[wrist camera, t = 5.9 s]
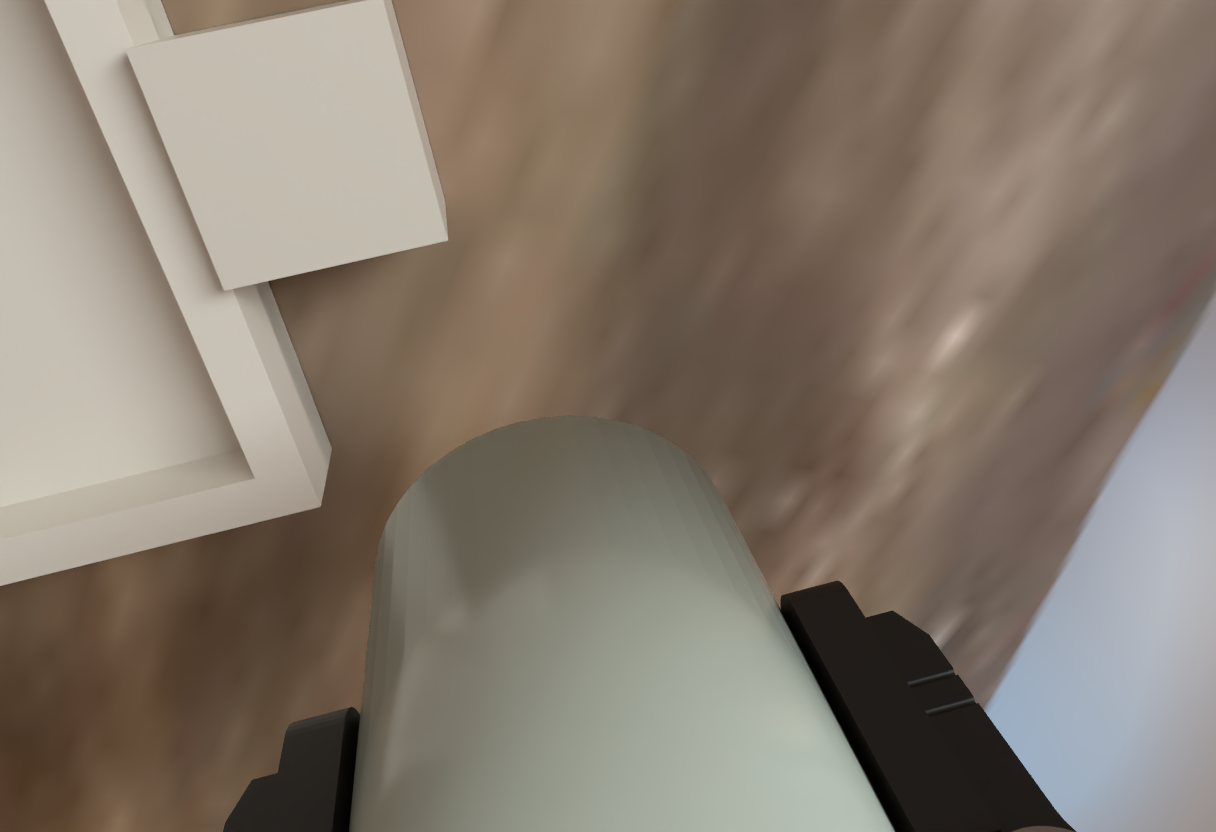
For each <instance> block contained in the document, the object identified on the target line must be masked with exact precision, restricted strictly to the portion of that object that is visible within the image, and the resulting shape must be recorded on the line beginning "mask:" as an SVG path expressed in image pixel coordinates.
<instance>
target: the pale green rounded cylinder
mask: <svg viewBox="0 0 1216 832" xmlns="http://www.w3.org/2000/svg"><path fill="white" fill-rule="evenodd" d="M349 832H897V831H896V829H895V827H894V825H893V823H892V821H891V819H890V817H889V815H888V814H887V812H886V810H885V808H884V806H883V804H882V802H881V800H880V798H879V796H878V794H877V793H876V791H875V789H874V787H873V785H872V783H871V781H870V779H869V777H868V775H867V773H866V772H865V770H864V768H863V766H862V764H861V762H860V760H859V758H858V756H857V754H856V752H855V751H854V749H853V747H852V745H851V743H850V741H849V739H848V737H847V735H846V733H845V731H844V730H843V728H842V726H841V724H840V722H839V720H838V718H837V716H836V714H835V712H834V710H833V709H832V707H831V705H830V703H829V701H828V699H827V697H826V695H825V693H824V691H823V689H822V688H821V686H820V684H819V682H818V680H817V678H816V676H815V674H814V672H813V670H812V668H811V667H810V665H809V663H808V661H807V659H806V657H805V655H804V653H803V651H802V649H801V647H800V646H799V644H798V642H797V640H796V638H795V636H794V634H793V632H792V630H791V628H790V626H789V624H788V623H787V621H786V619H785V617H784V615H783V613H782V611H781V609H780V607H779V605H778V603H777V602H776V600H775V598H774V596H773V594H772V592H771V590H770V588H769V586H768V584H767V582H766V581H765V579H764V577H763V575H762V573H761V571H760V569H759V567H758V565H757V563H756V561H755V560H754V558H753V556H752V554H751V552H750V550H749V548H748V546H747V544H746V542H745V540H744V539H743V537H742V535H741V533H740V531H739V529H738V527H737V525H736V523H735V521H734V519H733V518H732V516H731V514H730V512H729V510H728V508H727V506H726V504H725V502H724V500H723V498H722V497H721V495H720V493H719V491H718V490H717V488H716V486H715V485H714V483H713V481H712V480H711V478H710V477H709V476H708V475H707V473H706V472H705V471H704V470H703V469H702V468H701V466H700V465H699V464H698V463H697V462H696V461H695V460H694V459H692V458H691V457H690V456H689V455H688V454H687V453H686V452H684V451H683V450H682V449H681V448H679V447H677V446H676V445H674V444H673V443H671V442H670V441H668V440H666V439H665V438H663V437H661V436H659V435H657V434H655V433H652V432H650V431H648V430H646V429H644V428H641V427H638V426H634V425H631V424H628V423H624V422H621V421H616V420H611V419H605V418H599V417H587V416H558V417H544V418H539V419H533V420H528V421H522V422H518V423H514V424H511V425H508V426H505V427H501V428H498V429H495V430H492V431H490V432H488V433H485V434H483V435H481V436H479V437H476V438H474V439H472V440H470V441H468V442H466V443H464V444H463V445H461V446H459V447H458V448H456V449H454V450H453V451H451V452H449V453H448V454H446V455H445V456H444V457H442V458H441V459H440V460H438V461H437V462H436V463H435V464H433V465H432V466H431V467H429V468H428V469H427V470H426V471H425V472H424V473H423V474H422V475H421V476H420V477H419V478H418V479H417V480H416V481H415V482H414V483H413V484H412V485H411V486H410V488H409V489H408V490H407V491H406V493H405V494H404V495H403V497H402V498H401V499H400V501H399V502H398V503H397V505H396V507H395V509H394V510H393V512H392V514H391V516H390V517H389V519H388V521H387V523H386V526H385V528H384V531H383V534H382V536H381V539H380V542H379V546H378V551H377V556H376V561H375V568H374V579H373V589H372V599H371V610H370V620H369V630H368V641H367V651H366V661H365V672H364V682H363V692H362V702H361V713H360V723H359V733H358V744H357V754H356V764H355V775H354V785H353V795H352V806H351V816H350V826H349Z"/></svg>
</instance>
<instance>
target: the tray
mask: <svg viewBox="0 0 1216 832" xmlns="http://www.w3.org/2000/svg"><path fill="white" fill-rule="evenodd" d="M444 241H448V233H447V221H446V209H445V200H444V196H443V192H442V189H441V185H440V181H439V177H438V173H437V170H436V166H435V162H434V158H433V155H432V151H431V147H430V143H429V140H428V136H427V132H426V128H425V125H424V121H423V117H422V113H421V110H420V106H419V102H418V98H417V95H416V91H415V87H414V83H413V80H412V76H411V72H410V68H409V65H408V61H407V57H406V53H405V50H404V46H403V42H402V38H401V35H400V31H399V27H398V23H397V20H396V16H395V12H394V8H393V5H392V1H391V0H348V1H343V2H338V3H333V4H328V5H323V6H318V7H313V8H308V9H303V10H298V11H293V12H288V13H283V14H278V15H273V16H268V17H263V18H258V19H253V20H248V21H243V22H238V23H233V24H228V25H223V26H218V27H213V28H208V29H203V30H199V31H194V32H189V33H184V34H179V35H174V34H173V32H172V29H171V26H170V24H169V21H168V18H167V16H166V13H165V11H164V8H163V5H162V3H161V0H0V586H2V585H6V584H10V583H14V582H18V581H22V580H26V579H30V578H34V577H38V576H42V575H46V574H50V573H54V572H58V571H63V570H67V569H71V568H75V567H79V566H83V565H87V564H91V563H95V562H99V561H103V560H107V559H111V558H115V557H119V556H123V555H127V554H131V553H135V552H139V551H144V550H148V549H152V548H156V547H160V546H164V545H168V544H172V543H176V542H180V541H184V540H188V539H192V538H196V537H200V536H204V535H208V534H212V533H216V532H220V531H225V530H229V529H233V528H237V527H241V526H245V525H249V524H253V523H257V522H261V521H265V520H269V519H273V518H277V517H281V516H285V515H289V514H293V513H297V512H301V511H306V510H310V509H314V508H318V507H321V503H322V497H323V492H324V487H325V482H326V477H327V472H328V467H329V461H330V456H331V451H332V448H331V445H330V442H329V440H328V437H327V435H326V432H325V429H324V427H323V424H322V421H321V419H320V416H319V414H318V411H317V408H316V406H315V403H314V400H313V398H312V395H311V393H310V390H309V387H308V385H307V382H306V380H305V377H304V374H303V372H302V369H301V366H300V364H299V361H298V359H297V356H296V353H295V351H294V348H293V346H292V343H291V340H290V338H289V335H288V332H287V330H286V327H285V325H284V322H283V319H282V317H281V314H280V312H279V309H278V306H277V304H276V301H275V298H274V296H273V293H272V291H271V288H270V285H269V283H268V281H270V280H275V279H279V278H284V277H288V276H293V275H297V274H301V273H306V272H310V271H315V270H319V269H324V268H328V267H333V266H337V265H341V264H346V263H350V262H355V261H359V260H364V259H368V258H372V257H377V256H381V255H386V254H390V253H395V252H399V251H404V250H408V249H412V248H417V247H421V246H426V245H430V244H435V243H439V242H444Z"/></svg>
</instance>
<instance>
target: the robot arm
mask: <svg viewBox="0 0 1216 832" xmlns="http://www.w3.org/2000/svg"><path fill="white" fill-rule="evenodd" d="M781 611H782V613H783V615H784V617H785V619H786V621H787V623H788V624H789V626H790V628H791V630H792V632H793V634H794V636H795V638H796V640H797V642H798V644H799V646H800V647H801V649H802V651H803V653H804V655H805V657H806V659H807V661H808V663H809V665H810V667H811V668H812V670H813V672H814V674H815V676H816V678H817V680H818V682H819V684H820V686H821V688H822V689H823V691H824V693H825V695H826V697H827V699H828V701H829V703H830V705H831V707H832V709H833V710H834V712H835V714H836V716H837V718H838V720H839V722H840V724H841V726H842V728H843V730H844V731H845V733H846V735H847V737H848V739H849V741H850V743H851V745H852V747H853V749H854V751H855V752H856V754H857V756H858V758H859V760H860V762H861V764H862V766H863V768H864V770H865V772H866V773H867V775H868V777H869V779H870V781H871V783H872V785H873V787H874V789H875V791H876V793H877V794H878V796H879V798H880V800H881V802H882V804H883V806H884V808H885V810H886V812H887V814H888V815H889V817H890V819H891V821H892V823H893V825H894V827H895V829H896V831H897V832H1076V831H1075V830H1074V829H1073V828H1072V827H1071V826H1070V825H1069V824H1067V822H1065V821H1064V820H1063V818H1062V817H1061V816H1060V815H1059V813H1058V812H1057V811H1056V810H1055V809H1054V807H1053V806H1052V804H1051V803H1050V802H1049V800H1048V799H1047V798H1046V796H1045V795H1044V793H1043V792H1042V791H1041V790H1040V788H1039V786H1038V785H1037V784H1036V782H1035V781H1034V779H1033V778H1032V777H1031V775H1030V774H1029V773H1028V771H1027V770H1026V768H1025V767H1024V766H1023V764H1022V763H1021V761H1020V760H1019V759H1018V757H1017V756H1016V755H1015V753H1014V752H1013V750H1012V749H1011V748H1010V746H1009V745H1008V743H1007V742H1006V741H1005V739H1004V738H1003V737H1002V735H1001V734H1000V732H999V731H998V730H997V729H996V727H995V726H994V724H993V723H992V721H991V720H990V718H989V717H988V716H987V714H986V713H985V712H984V710H983V709H982V707H981V706H980V705H979V703H977V704H976V703H975V701H974V698H973V695H972V693H971V692H970V691H969V689H968V688H967V687H966V685H965V684H964V682H963V681H962V680H961V678H960V677H959V675H955V673H954V670H953V667H952V666H951V664H950V663H949V662H948V660H947V659H946V657H945V656H944V655H943V653H942V652H941V651H940V649H939V648H938V646H937V645H936V644H935V642H934V641H933V639H932V638H931V637H930V635H929V634H927V633H926V632H924V631H923V630H921V629H920V628H918V627H917V626H915V625H914V624H912V623H911V622H909V621H908V620H906V619H905V618H903V617H902V616H900V615H899V614H897V613H896V612H894V611H889V612H885V613H882V614H878V615H874V616H870V617H867V618H865V616H864V615H863V613H862V612H861V610H860V609H859V607H858V606H857V604H856V602H855V601H854V599H853V598H852V596H851V595H850V593H849V592H848V590H847V589H846V587H845V586H844V585H843V584H842V583H841V582H840V581H834V582H830V583H826V584H823V585H819V586H815V587H811V588H807V589H804V590H800V591H796V592H792V593H788V594H785V595H782V596H781ZM359 723H360V714H359V713H358V711H357V710H356V709H355V708H353V707H350V708H346V709H343V710H339V711H335V712H331V713H328V714H324V715H320V716H316V717H312V718H309V719H305V720H301V721H297V722H293V723H291V724H290V725H289V727H288V728H287V731H286V734H285V738H284V743H283V749H282V754H281V759H280V764H279V770H278V773H276V774H272V775H269V776H265V777H261V778H258V779H254V780H252V781H251V782H250V784H249V786H248V787H247V789H246V791H245V792H244V794H243V795H242V797H241V799H240V800H239V802H238V803H237V805H236V807H235V808H234V810H233V811H232V813H231V815H230V816H229V818H228V819H227V821H226V823H225V826H224V831H223V832H349V826H350V816H351V806H352V795H353V785H354V775H355V764H356V754H357V744H358V733H359Z"/></svg>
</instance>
